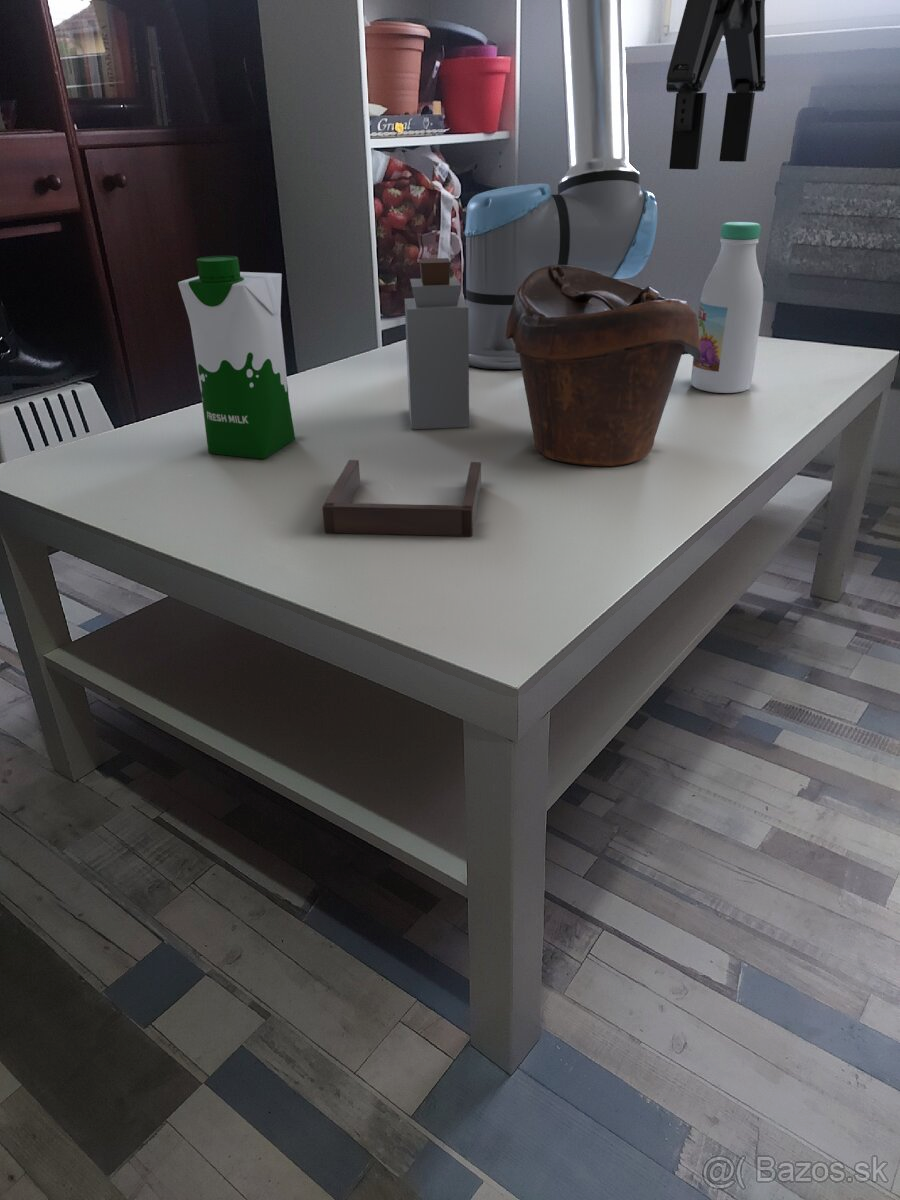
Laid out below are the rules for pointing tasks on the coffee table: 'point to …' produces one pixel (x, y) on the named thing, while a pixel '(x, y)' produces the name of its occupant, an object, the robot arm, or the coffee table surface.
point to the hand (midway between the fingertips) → (709, 165)
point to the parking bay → (399, 510)
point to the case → (597, 362)
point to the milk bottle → (730, 313)
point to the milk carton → (239, 357)
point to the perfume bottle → (437, 349)
